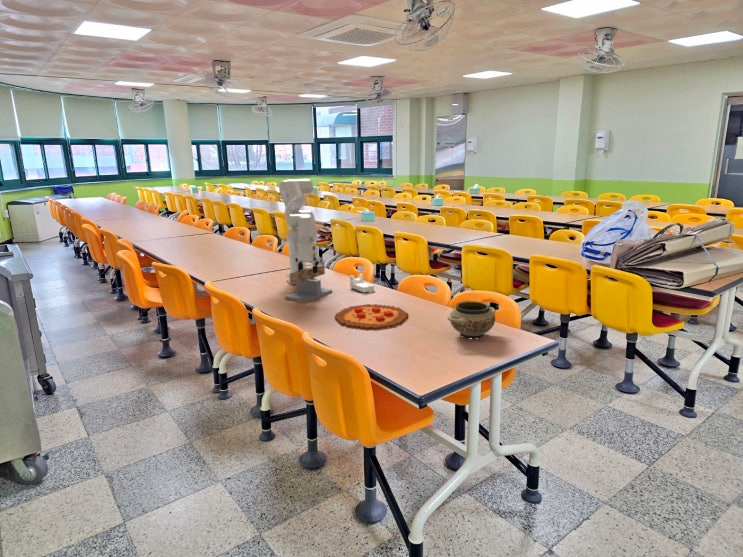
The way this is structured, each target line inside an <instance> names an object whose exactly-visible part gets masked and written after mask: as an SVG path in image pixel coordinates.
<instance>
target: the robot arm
mask: <svg viewBox="0 0 743 557" xmlns="http://www.w3.org/2000/svg"><path fill="white" fill-rule="evenodd" d="M278 190H279V193H280V197H281V199H282V202H283V203H284V207H285V210H284V219H285V223H286V226H287V228H288V230H287V232H286V234H285V235H286V241H287V246H288V256H289V270H290V271H289V273H288V272H287V274H286V275H285V276H286V278H289V279H288V283H289V284H291V285H295V284H294V283H290V273H293V272H296V271H299V270H303V269H306V268H307V263H311V265H312V266H313V274H315V273H317V272H318V269H317V265H319V264H320V263H321V260H322V257H320V255H318V250H317V245H316V243H317V241H318V232H317V227H316V218H315V214H314V212H313V211H311V209H310V210H304V209H302V210H301V208H302V207H304V206H305V205H306V203H307V202H306V201H307V199H306V196H305V195H313V193H314V184H313V181H312V179H309V178H298V179H297V178H296V179H295V178H294V179H286V180H281V181H280V182H279V185H278Z"/></svg>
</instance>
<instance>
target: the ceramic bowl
mask: <svg viewBox="0 0 743 557" xmlns="http://www.w3.org/2000/svg"><path fill="white" fill-rule="evenodd" d="M495 315H496V309H495V308H494V307H492V306H490V305H489V304H488V303H485V302H482V301H478V300H466V301H460V302H458V303H456V304H455V308H454V309H453V310H452V311H451V312H450V314H449V316H447V320H448V321H449V322H450V324H451V327H452V328H453V329H454V330H455V331H457V332H458V333H459V335H460V337H461V336H463V337H465V338H472V339H475V338H481V339H483V338H484V337H483V336H485V334H486V333H488V332H489V331H490V330H491V329H492V328H493V327H494V325H495V322H496V316H495ZM463 337H462V338H463ZM482 337H483V338H482ZM465 338H464V339H465ZM472 339H471V340H472ZM475 340H476V339H475Z"/></svg>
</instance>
